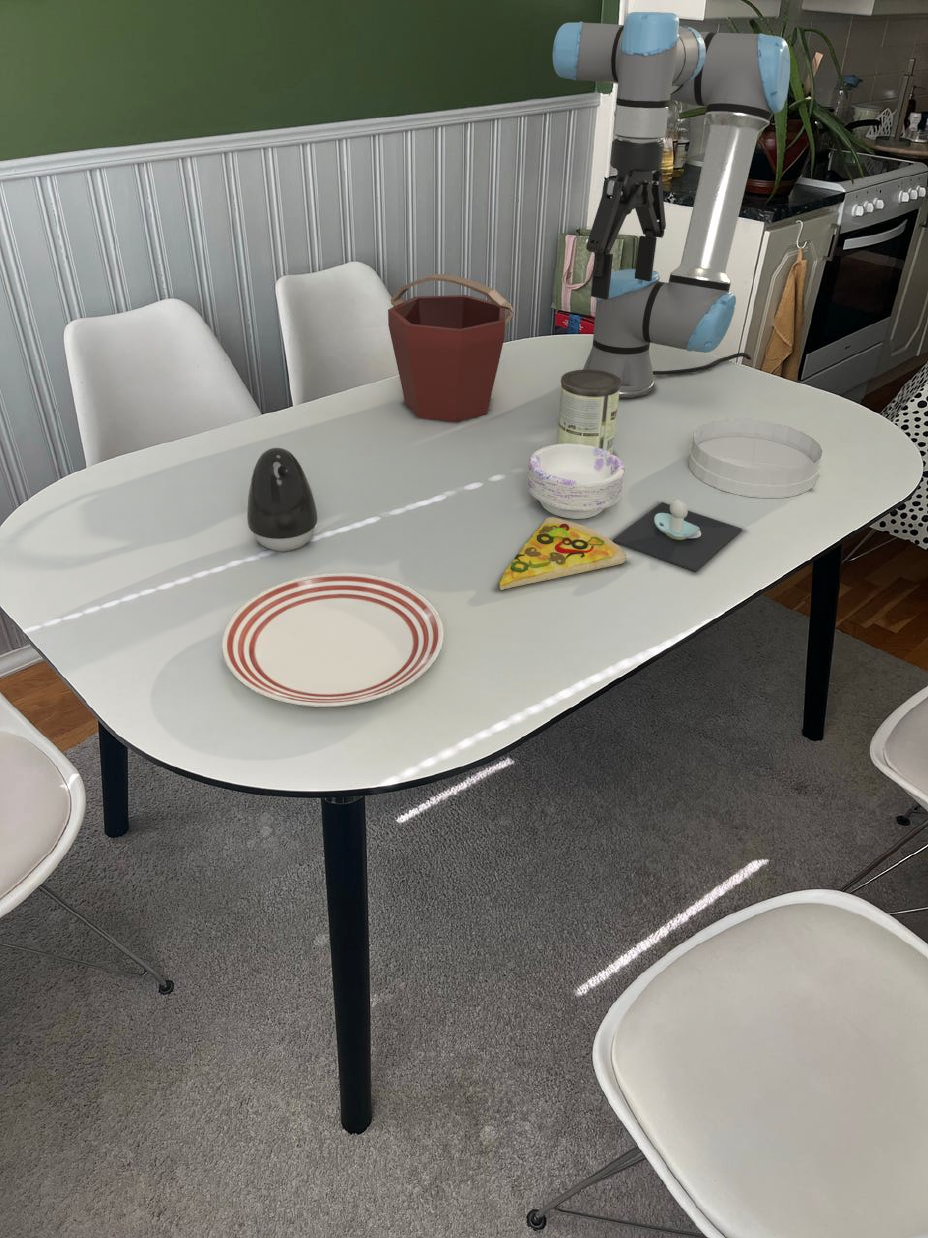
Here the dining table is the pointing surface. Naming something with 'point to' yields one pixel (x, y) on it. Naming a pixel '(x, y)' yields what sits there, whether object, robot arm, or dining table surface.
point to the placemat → (678, 551)
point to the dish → (755, 458)
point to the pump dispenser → (280, 502)
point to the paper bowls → (575, 479)
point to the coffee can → (588, 408)
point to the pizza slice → (560, 553)
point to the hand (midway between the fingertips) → (621, 288)
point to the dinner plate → (332, 639)
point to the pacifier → (676, 522)
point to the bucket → (448, 349)
